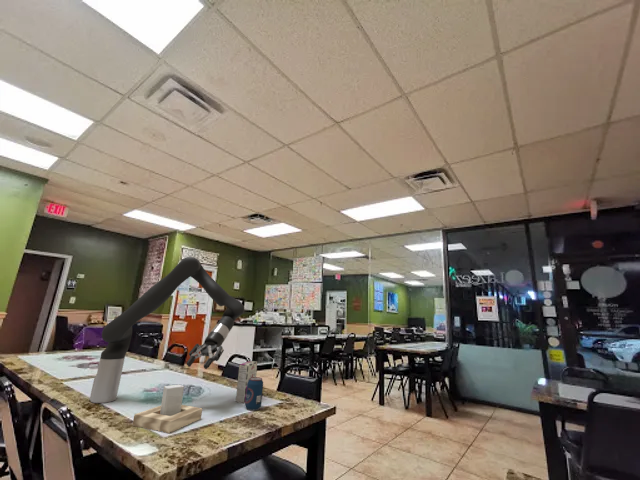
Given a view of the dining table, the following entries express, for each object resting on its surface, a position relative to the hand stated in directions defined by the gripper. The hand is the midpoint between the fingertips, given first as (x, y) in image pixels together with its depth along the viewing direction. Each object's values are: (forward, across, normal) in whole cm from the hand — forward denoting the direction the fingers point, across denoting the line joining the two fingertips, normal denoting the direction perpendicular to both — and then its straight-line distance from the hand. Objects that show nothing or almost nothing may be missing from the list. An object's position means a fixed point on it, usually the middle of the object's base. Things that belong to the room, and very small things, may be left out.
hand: (196, 366), depth 122 cm
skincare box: (+20, 0, +5) cm, 21 cm away
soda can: (0, +19, +24) cm, 31 cm away
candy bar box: (-7, +9, +32) cm, 33 cm away
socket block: (+20, 0, +4) cm, 21 cm away
